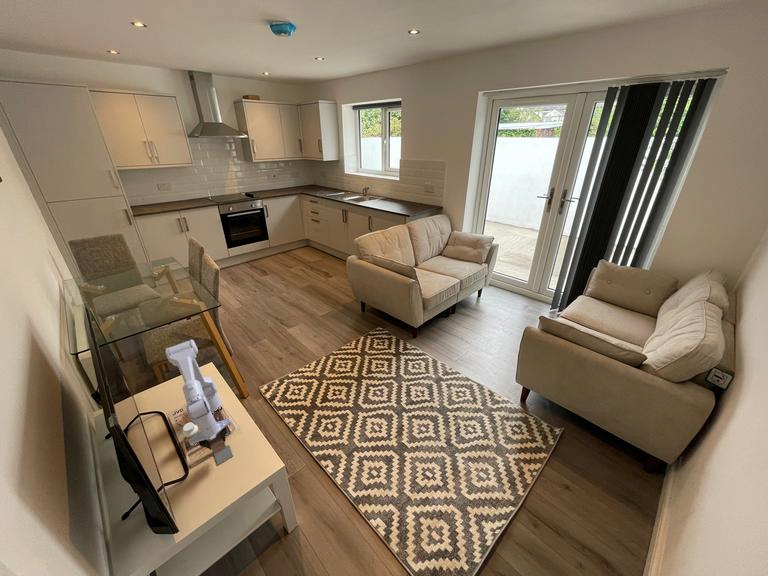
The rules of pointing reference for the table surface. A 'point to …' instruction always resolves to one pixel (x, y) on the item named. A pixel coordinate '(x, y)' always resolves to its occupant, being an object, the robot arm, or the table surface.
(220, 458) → the slate coaster
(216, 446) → the walnut block
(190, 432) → the supplement bottle
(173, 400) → the table surface
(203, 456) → the beech tray
